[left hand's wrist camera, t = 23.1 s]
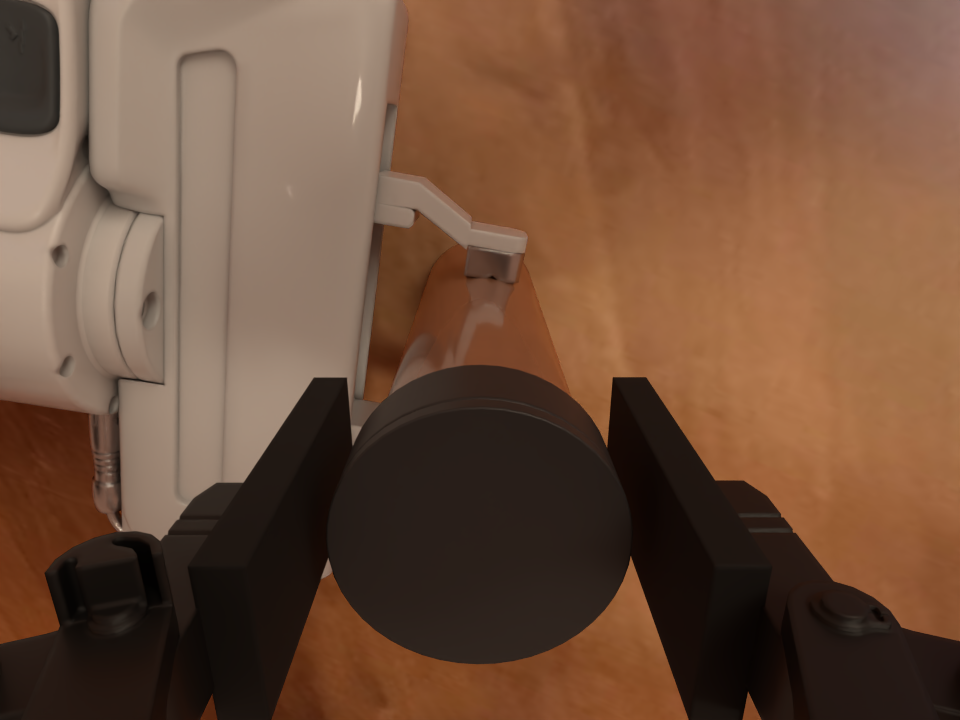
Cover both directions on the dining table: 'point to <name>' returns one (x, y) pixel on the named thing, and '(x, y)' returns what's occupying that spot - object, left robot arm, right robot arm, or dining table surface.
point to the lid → (479, 517)
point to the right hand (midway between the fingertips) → (506, 342)
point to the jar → (477, 325)
